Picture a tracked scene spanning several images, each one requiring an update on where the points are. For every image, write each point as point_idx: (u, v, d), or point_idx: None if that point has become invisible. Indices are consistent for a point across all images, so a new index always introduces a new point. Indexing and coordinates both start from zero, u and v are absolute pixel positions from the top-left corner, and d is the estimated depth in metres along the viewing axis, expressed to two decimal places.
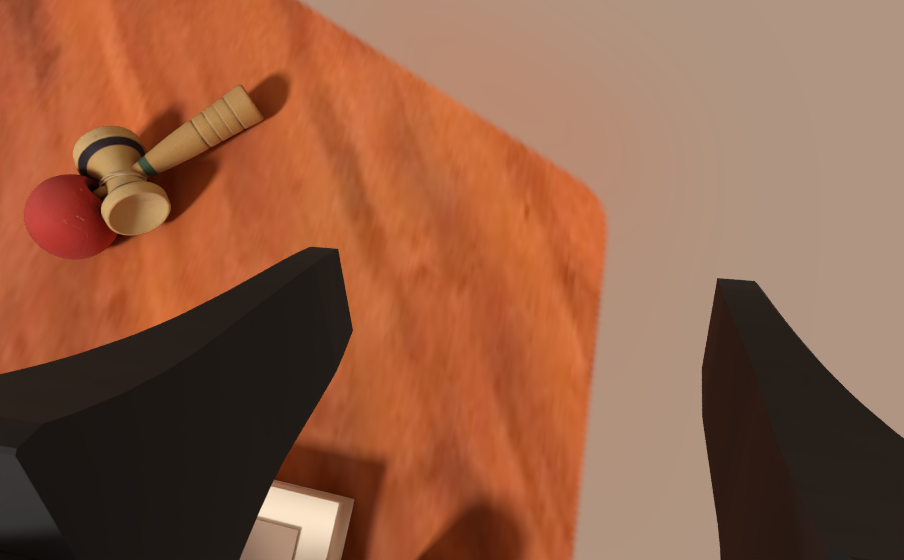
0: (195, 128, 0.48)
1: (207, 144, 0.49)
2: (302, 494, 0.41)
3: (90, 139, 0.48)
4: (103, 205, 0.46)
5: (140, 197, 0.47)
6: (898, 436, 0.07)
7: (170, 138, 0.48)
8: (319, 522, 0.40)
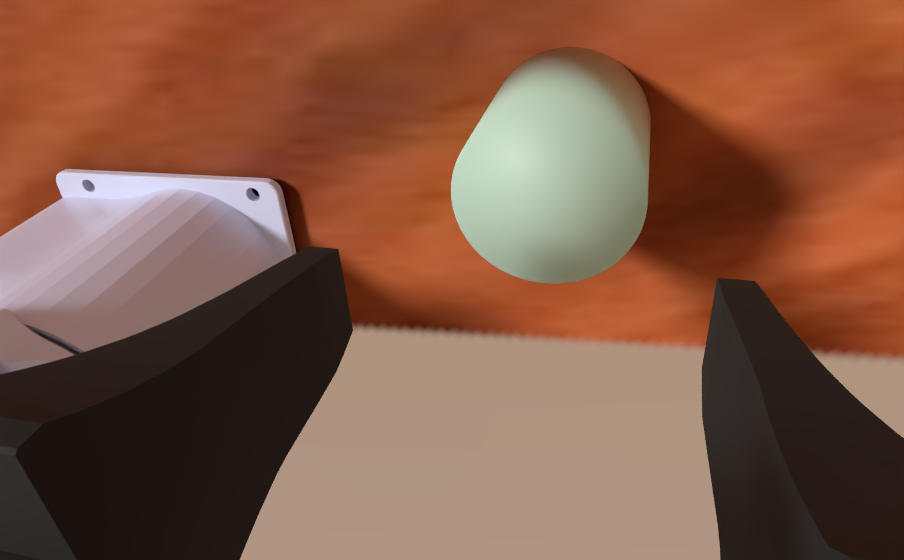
0: None
1: None
2: None
3: None
4: None
5: None
6: (898, 436, 0.07)
7: None
8: None
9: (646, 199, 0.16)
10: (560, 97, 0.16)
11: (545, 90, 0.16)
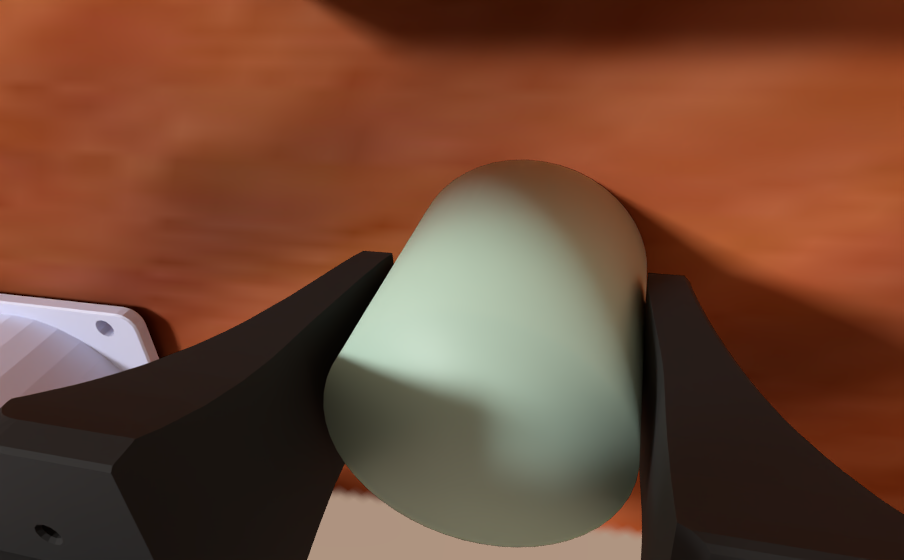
0: None
1: None
2: None
3: None
4: None
5: None
6: (785, 422, 0.08)
7: None
8: None
9: (637, 457, 0.10)
10: (492, 288, 0.09)
11: (470, 268, 0.10)
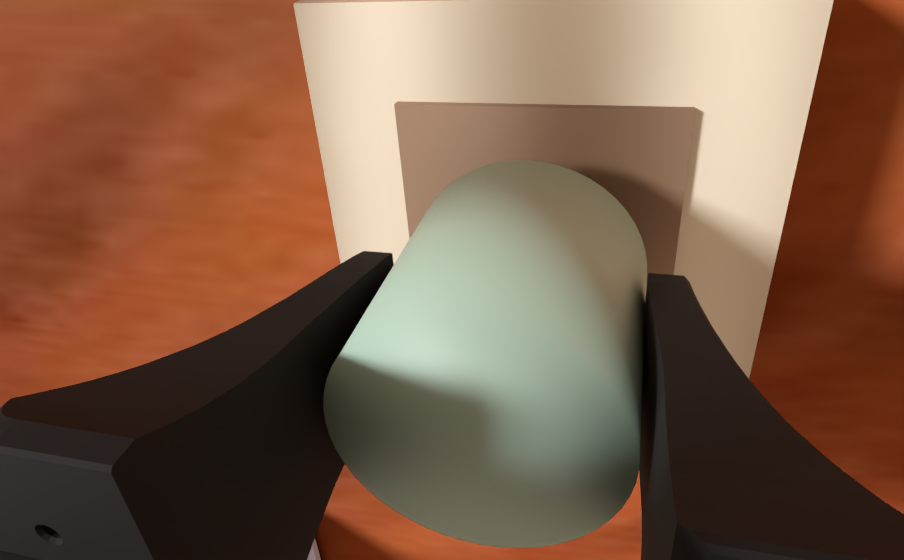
0: None
1: None
2: (753, 346, 0.16)
3: None
4: None
5: None
6: (784, 422, 0.08)
7: None
8: None
9: (637, 458, 0.10)
10: (491, 288, 0.09)
11: (470, 268, 0.10)
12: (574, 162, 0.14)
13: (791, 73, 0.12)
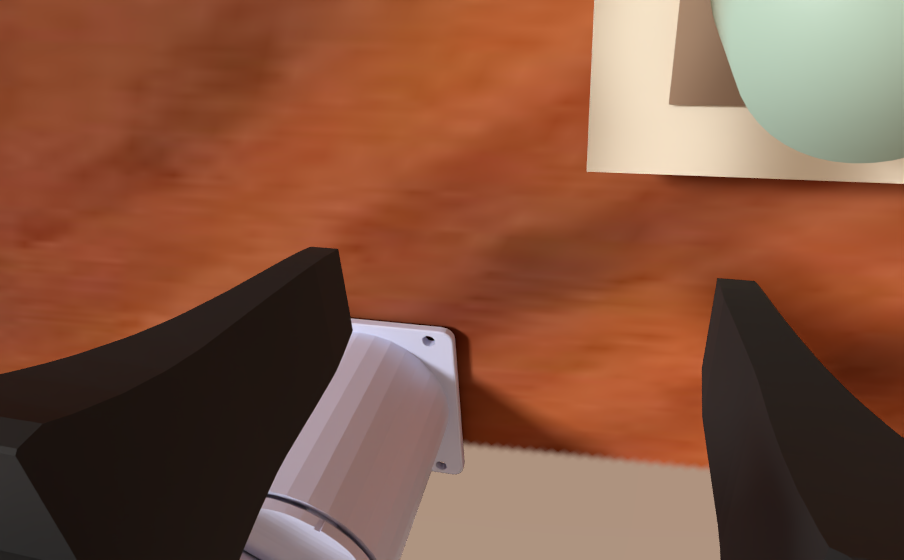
0: None
1: None
2: None
3: None
4: None
5: None
6: (898, 436, 0.07)
7: None
8: None
9: None
10: None
11: None
12: None
13: None
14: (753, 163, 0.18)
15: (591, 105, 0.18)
